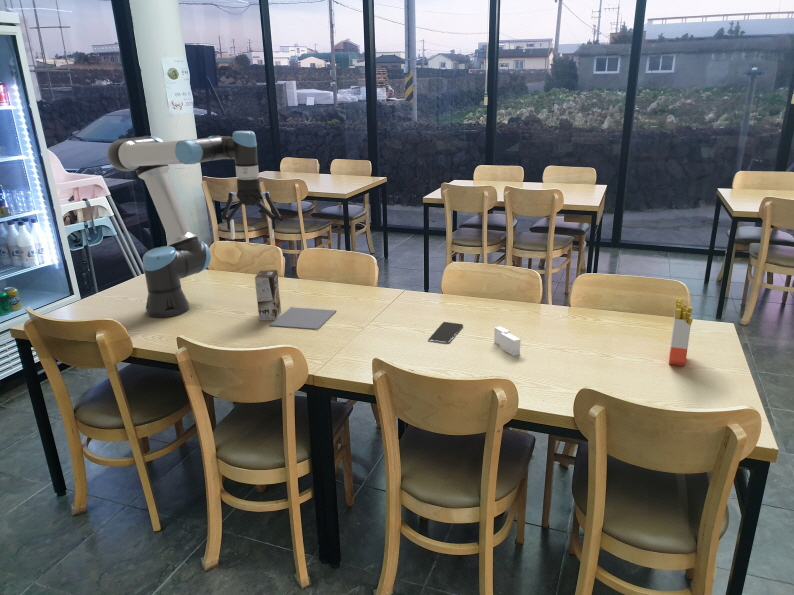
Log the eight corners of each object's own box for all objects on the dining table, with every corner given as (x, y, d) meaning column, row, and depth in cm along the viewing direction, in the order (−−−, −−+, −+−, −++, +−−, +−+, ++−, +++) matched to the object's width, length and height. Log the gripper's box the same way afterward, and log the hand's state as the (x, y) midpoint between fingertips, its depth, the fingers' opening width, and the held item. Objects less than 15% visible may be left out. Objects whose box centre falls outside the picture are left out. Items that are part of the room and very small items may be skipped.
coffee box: (276, 320, 216) (272, 277, 211) (258, 320, 216) (253, 277, 211) (281, 311, 224) (277, 269, 219) (264, 311, 225) (260, 269, 219)
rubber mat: (269, 326, 211) (269, 324, 211) (291, 308, 227) (291, 307, 227) (318, 329, 206) (318, 328, 206) (336, 311, 223) (336, 310, 223)
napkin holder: (526, 359, 181) (526, 341, 179) (487, 357, 183) (487, 339, 181) (526, 339, 195) (527, 323, 193) (490, 338, 197) (490, 321, 195)
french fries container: (686, 355, 179) (694, 297, 173) (686, 370, 170) (694, 309, 164) (669, 352, 181) (676, 295, 175) (668, 367, 172) (676, 307, 166)
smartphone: (427, 339, 195) (443, 321, 208) (427, 342, 195) (443, 324, 209) (449, 342, 192) (464, 324, 206) (449, 345, 192) (464, 326, 206)
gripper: (208, 179, 204) (214, 241, 212) (283, 179, 205) (286, 240, 213) (213, 176, 211) (219, 236, 219) (286, 176, 212) (289, 235, 220)
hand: (252, 238), depth 216 cm, fingers open, 13 cm apart
